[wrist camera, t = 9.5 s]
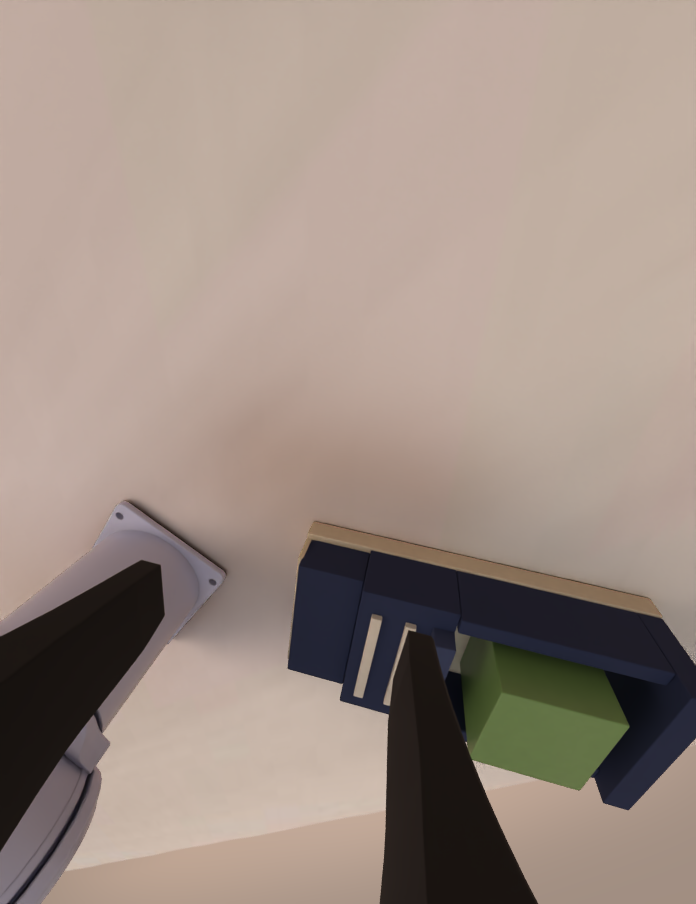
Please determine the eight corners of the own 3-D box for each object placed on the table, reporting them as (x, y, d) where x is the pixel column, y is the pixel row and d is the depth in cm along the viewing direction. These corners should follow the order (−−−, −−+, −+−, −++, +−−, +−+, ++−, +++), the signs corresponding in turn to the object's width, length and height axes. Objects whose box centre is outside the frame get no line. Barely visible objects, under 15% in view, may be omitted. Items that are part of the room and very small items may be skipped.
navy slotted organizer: (650, 598, 19) (727, 705, 14) (584, 698, 23) (627, 812, 18) (313, 520, 21) (279, 591, 16) (300, 624, 25) (270, 708, 20)
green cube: (547, 685, 21) (580, 791, 17) (459, 662, 22) (468, 759, 18) (582, 624, 19) (630, 726, 15) (484, 600, 20) (501, 692, 15)
